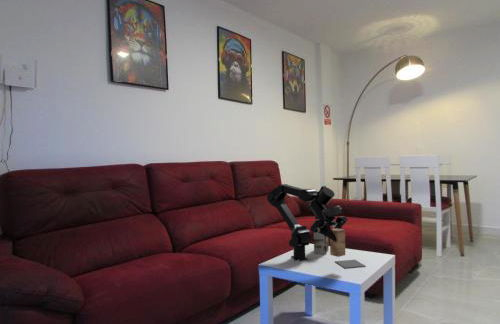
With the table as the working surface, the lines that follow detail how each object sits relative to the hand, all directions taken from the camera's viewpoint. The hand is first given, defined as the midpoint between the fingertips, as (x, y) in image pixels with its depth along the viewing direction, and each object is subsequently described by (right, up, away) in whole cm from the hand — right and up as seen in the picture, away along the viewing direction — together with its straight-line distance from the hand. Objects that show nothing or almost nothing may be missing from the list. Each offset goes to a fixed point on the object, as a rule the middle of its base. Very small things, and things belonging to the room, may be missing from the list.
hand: (339, 240), depth 153 cm
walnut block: (-1, -7, +1) cm, 7 cm away
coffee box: (-1, -13, +33) cm, 35 cm away
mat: (+7, -13, +10) cm, 18 cm away
